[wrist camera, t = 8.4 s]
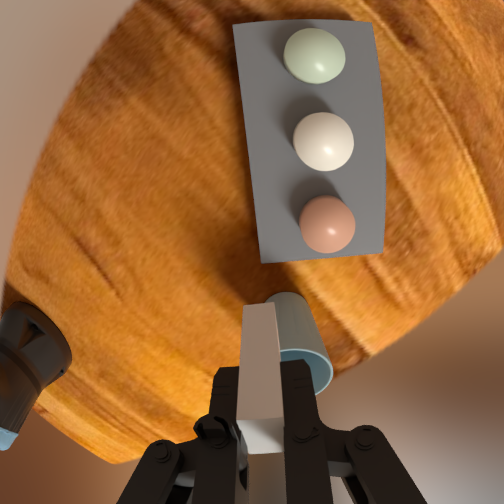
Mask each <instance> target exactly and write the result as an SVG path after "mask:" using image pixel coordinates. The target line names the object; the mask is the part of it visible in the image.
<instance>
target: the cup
mask: <svg viewBox="0 0 504 504" xmlns="http://www.w3.org/2000/svg"><path fill="white" fill-rule="evenodd" d="M269 302H274V305H275V313H276V321H277V329H278V337H279V345H280V357H281V362H282V361H290V360H298V359H304V360H305V361H306V362H307V364H308V365H309V366H310V369H311V375H312V380H313V386H314V391H315V395H316V394H318V393H320V392H321V391H322V390H324V389H325V388H326V387H327V386H328V384H329V383H330V381H331V379H332V376H333V368H332V364H331V362H330V359H329V356H328V354H327V351H326V349H325V346H324V344H323V341H322V338H321V336H320V333H319V331H318V328H317V325H316V323H315V320H314V318H313V315H312V313H311V310H310V308H309V305H308V303H307V302H306V300H305V299H304V298H303V297H302V296H300V295H298V294H296V293H293V292H281V293H277V294H274V295H273V296H271V297H270V298H269V299H267V300H266V302H265V303H269Z"/></svg>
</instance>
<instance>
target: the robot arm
mask: <svg viewBox="0 0 504 504" xmlns="http://www.w3.org/2000/svg"><path fill="white" fill-rule="evenodd" d="M71 362H72V354H71V351H70V348H69V345H68V343H67V341H66V340H65V338H64V336H63V335H62V333H61V332H60V331H59V329H58V328H57V327H56V326H55V325H54V324H53V322H52V321H51V320H50V319H49V318H48V317H46V316H45V315H44V314H43V313H42V312H40V311H39V310H38V309H36V308H35V307H33V306H31V305H29V304H27V303H23V302H15V303H13V304H12V305H11V306H10V307H9V308H8V309H7V310H6V311H5V312H4V314H3V316H2V319H1V321H0V450H7V449H8V448H9V447H10V446H11V444H12V442H13V441H14V439H15V438H16V436H18V432H19V431H20V429H21V427H22V425H23V423H24V421H25V420H26V418H27V416H28V414H29V412H30V411H31V409H32V407H33V405H34V404H35V402H36V400H37V398H38V397H39V395H40V393H41V392H42V390H43V389H44V388H46V387H47V386H48V385H50V384H51V383H53V382H54V381H55V380H57V379H58V378H59V377H61V376H62V375H64V374H65V372H66V371H67V369H68V368H69V366H70V365H71ZM212 387H213V388H212V393H211V400H210V407H209V414H207V415H205V416H203V417H201V418H199V419H198V421H197V422H196V423H195V425H194V427H193V429H194V431H195V433H196V434H197V436H198V437H197V438H196V439H194V440H191V441H187V442H183V443H179V444H175V443H173V442H171V441H169V440H163V439H162V440H158V441H155V442H153V443H152V444H150V445H149V446H148V448H147V449H146V451H145V452H144V454H143V456H142V458H141V460H140V462H139V463H138V465H137V467H136V469H135V471H134V472H133V474H132V476H131V478H130V480H129V482H128V484H127V485H126V487H125V489H124V491H123V493H122V494H121V496H120V498H119V500H118V502H117V503H116V504H249V463H248V460H247V454H248V453H247V452H249V454H260V453H274V452H284V456H285V473H286V474H285V475H286V495H287V504H333V496H332V489H331V482H330V476H336V477H341V479H342V481H343V483H344V485H345V487H346V489H347V491H348V493H349V495H350V497H351V499H352V501H353V503H354V504H427V502H426V501H425V499H424V498H423V496H422V494H421V493H420V491H419V489H418V488H417V486H416V485H415V483H414V481H413V480H412V478H411V477H410V475H409V474H408V472H407V470H406V469H405V467H404V466H403V464H402V463H401V461H400V459H399V458H398V457H397V455H396V453H395V452H394V450H393V448H392V447H391V445H390V444H389V442H388V441H387V439H386V438H385V436H384V434H383V433H382V432H381V431H380V430H379V429H378V428H376V427H374V426H371V425H362V426H358V427H356V428H354V429H353V430H351V431H343V430H335V429H331V428H329V427H327V426H326V425H324V424H323V423H322V421H321V420H320V418H319V415H318V409H317V403H316V397H315V391H314V386H313V380H312V375H311V369H310V366H309V365H308V364H307V362H306V361H305V360H304V359H298V360H290V361H282V362H281V357H280V345H279V337H278V329H277V321H276V313H275V305H274V302H269V303H261V304H252V305H243V318H242V334H241V350H240V366H235V367H220V368H219V370H218V371H217V373H216V374H215V376H214V379H213V386H212Z"/></svg>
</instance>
